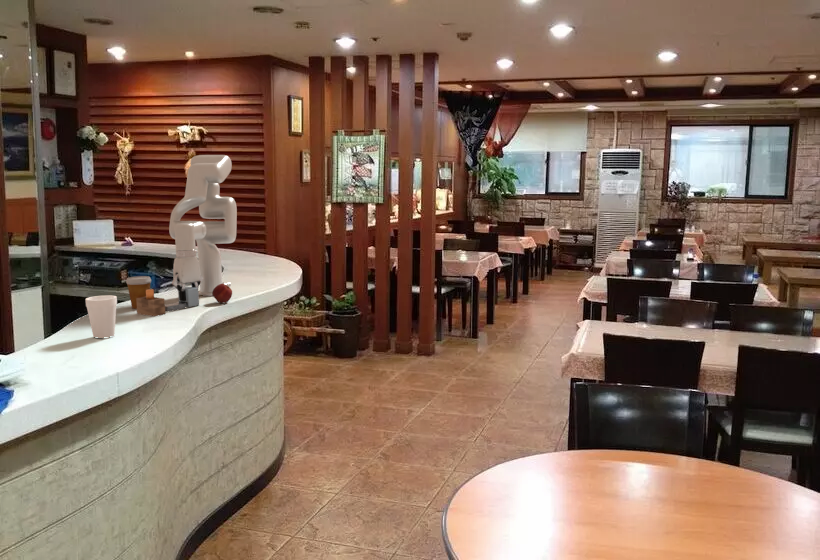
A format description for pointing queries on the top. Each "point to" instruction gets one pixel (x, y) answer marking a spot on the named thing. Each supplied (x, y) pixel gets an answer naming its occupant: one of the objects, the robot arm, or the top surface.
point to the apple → (222, 293)
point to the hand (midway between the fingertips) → (188, 299)
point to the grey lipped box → (191, 296)
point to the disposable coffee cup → (137, 288)
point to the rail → (176, 306)
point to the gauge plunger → (150, 294)
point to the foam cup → (102, 315)
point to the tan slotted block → (150, 306)
